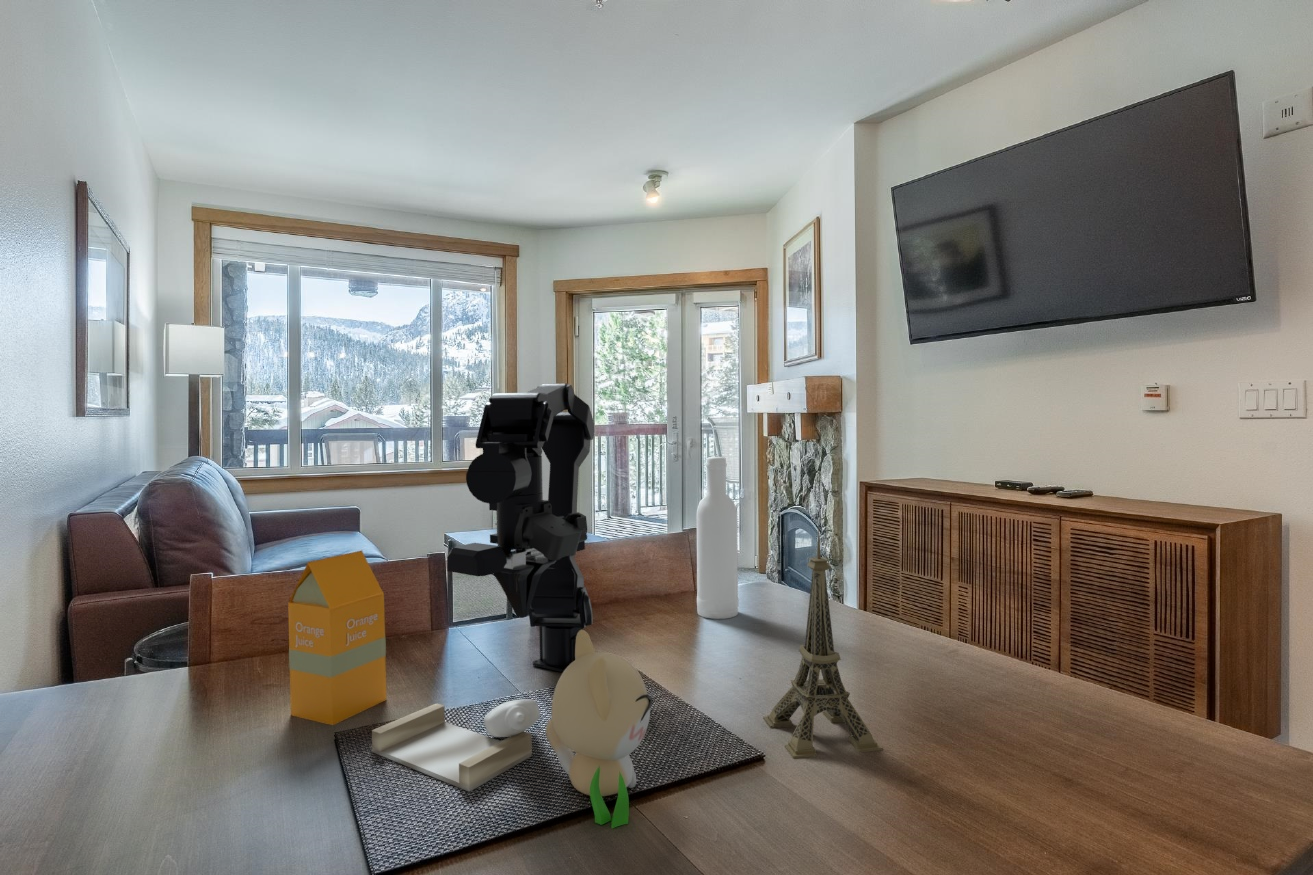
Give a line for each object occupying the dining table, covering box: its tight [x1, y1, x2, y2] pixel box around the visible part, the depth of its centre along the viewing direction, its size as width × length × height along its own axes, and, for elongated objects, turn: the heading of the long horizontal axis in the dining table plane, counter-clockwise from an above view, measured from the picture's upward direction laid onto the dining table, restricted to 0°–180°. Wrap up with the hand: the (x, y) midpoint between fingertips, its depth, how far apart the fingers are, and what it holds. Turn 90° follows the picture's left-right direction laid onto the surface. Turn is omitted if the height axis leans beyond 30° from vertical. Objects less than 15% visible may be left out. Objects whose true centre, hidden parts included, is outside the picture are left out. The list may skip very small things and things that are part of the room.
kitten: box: [545, 629, 653, 829], centre depth 71 cm, size 15×10×15 cm, turn 17°
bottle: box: [696, 456, 739, 620], centre depth 135 cm, size 8×8×30 cm
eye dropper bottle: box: [483, 698, 541, 738], centre depth 80 cm, size 4×6×12 cm
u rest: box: [371, 703, 533, 792], centre depth 80 cm, size 16×9×2 cm, turn 56°
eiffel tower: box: [762, 523, 884, 759], centre depth 84 cm, size 11×11×25 cm
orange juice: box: [287, 549, 387, 726], centre depth 93 cm, size 8×9×20 cm
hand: (521, 616), depth 89 cm, fingers closed
